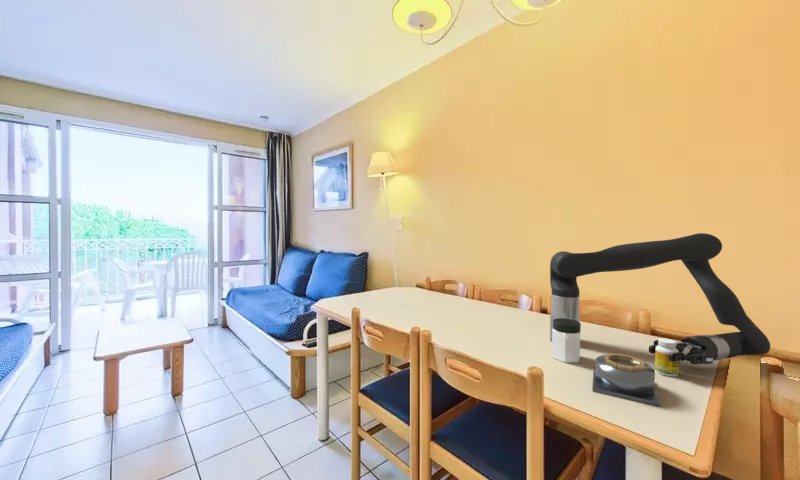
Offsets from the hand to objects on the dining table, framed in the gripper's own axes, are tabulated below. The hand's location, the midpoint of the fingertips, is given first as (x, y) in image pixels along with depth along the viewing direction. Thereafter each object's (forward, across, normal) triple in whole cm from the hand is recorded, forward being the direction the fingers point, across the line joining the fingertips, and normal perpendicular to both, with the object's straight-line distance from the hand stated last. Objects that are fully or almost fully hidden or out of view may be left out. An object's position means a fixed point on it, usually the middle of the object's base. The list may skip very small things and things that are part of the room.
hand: (660, 353), depth 94 cm
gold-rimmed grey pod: (+17, +4, +6) cm, 18 cm away
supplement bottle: (-3, 0, +6) cm, 7 cm away
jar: (+18, -16, +6) cm, 25 cm away
